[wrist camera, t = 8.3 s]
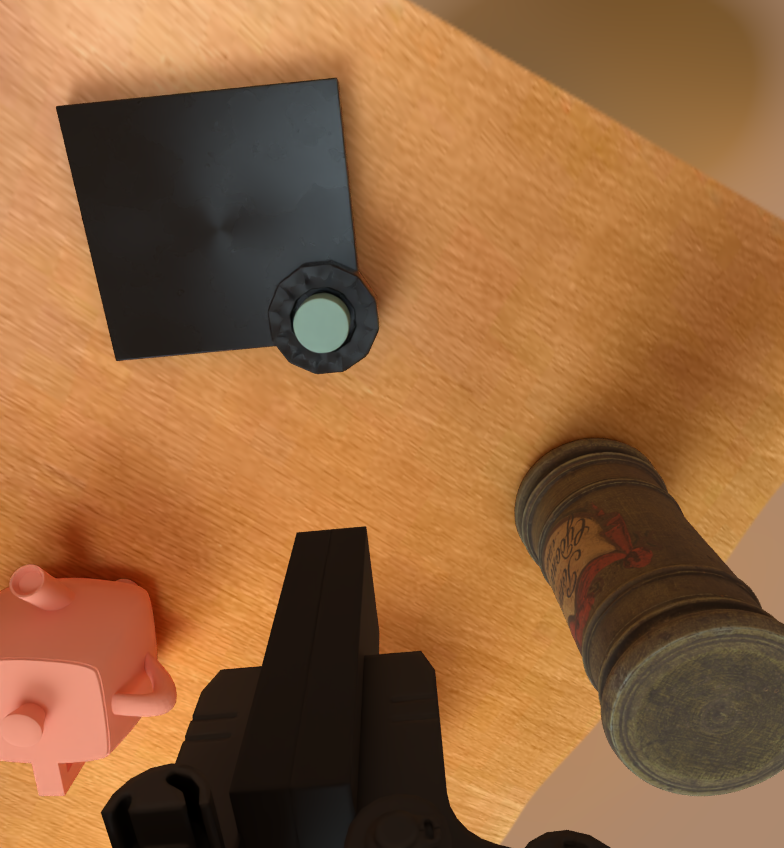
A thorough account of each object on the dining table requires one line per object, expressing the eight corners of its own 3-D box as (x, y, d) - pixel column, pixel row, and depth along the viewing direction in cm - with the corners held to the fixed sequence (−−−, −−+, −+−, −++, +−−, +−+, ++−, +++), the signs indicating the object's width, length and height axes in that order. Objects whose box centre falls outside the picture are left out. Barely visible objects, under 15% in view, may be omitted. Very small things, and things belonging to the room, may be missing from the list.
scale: (355, 79, 34) (353, 69, 31) (382, 354, 39) (383, 368, 36) (65, 108, 34) (37, 102, 31) (128, 378, 39) (108, 393, 36)
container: (660, 430, 41) (859, 606, 24) (651, 559, 44) (823, 798, 27) (511, 441, 41) (604, 625, 24) (513, 569, 44) (596, 813, 27)
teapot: (80, 505, 42) (-4, 593, 33) (216, 628, 45) (174, 739, 36) (-39, 608, 44) (-148, 717, 35) (98, 718, 47) (31, 845, 38)
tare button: (347, 290, 35) (345, 295, 33) (353, 343, 36) (351, 350, 34) (293, 295, 35) (289, 300, 33) (301, 347, 36) (297, 355, 34)
